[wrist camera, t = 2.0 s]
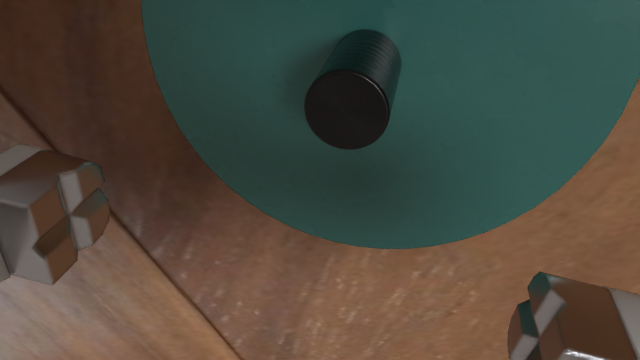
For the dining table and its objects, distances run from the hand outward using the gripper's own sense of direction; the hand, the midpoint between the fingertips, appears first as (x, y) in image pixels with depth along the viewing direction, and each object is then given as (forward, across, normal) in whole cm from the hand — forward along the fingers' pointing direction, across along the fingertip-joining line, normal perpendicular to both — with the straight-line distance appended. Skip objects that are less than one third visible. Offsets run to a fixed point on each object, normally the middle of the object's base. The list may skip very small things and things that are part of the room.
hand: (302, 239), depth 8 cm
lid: (+10, 0, 0) cm, 10 cm away
